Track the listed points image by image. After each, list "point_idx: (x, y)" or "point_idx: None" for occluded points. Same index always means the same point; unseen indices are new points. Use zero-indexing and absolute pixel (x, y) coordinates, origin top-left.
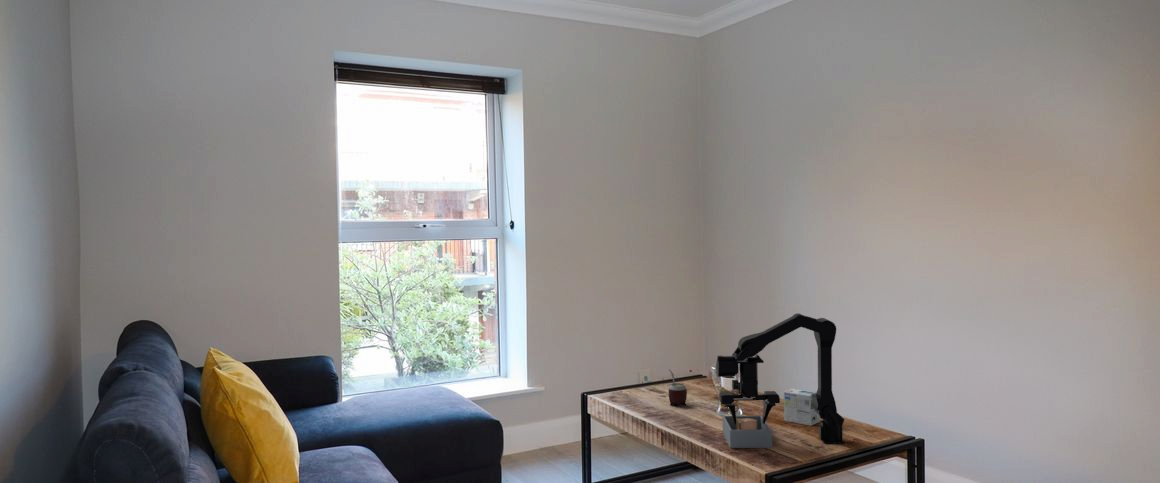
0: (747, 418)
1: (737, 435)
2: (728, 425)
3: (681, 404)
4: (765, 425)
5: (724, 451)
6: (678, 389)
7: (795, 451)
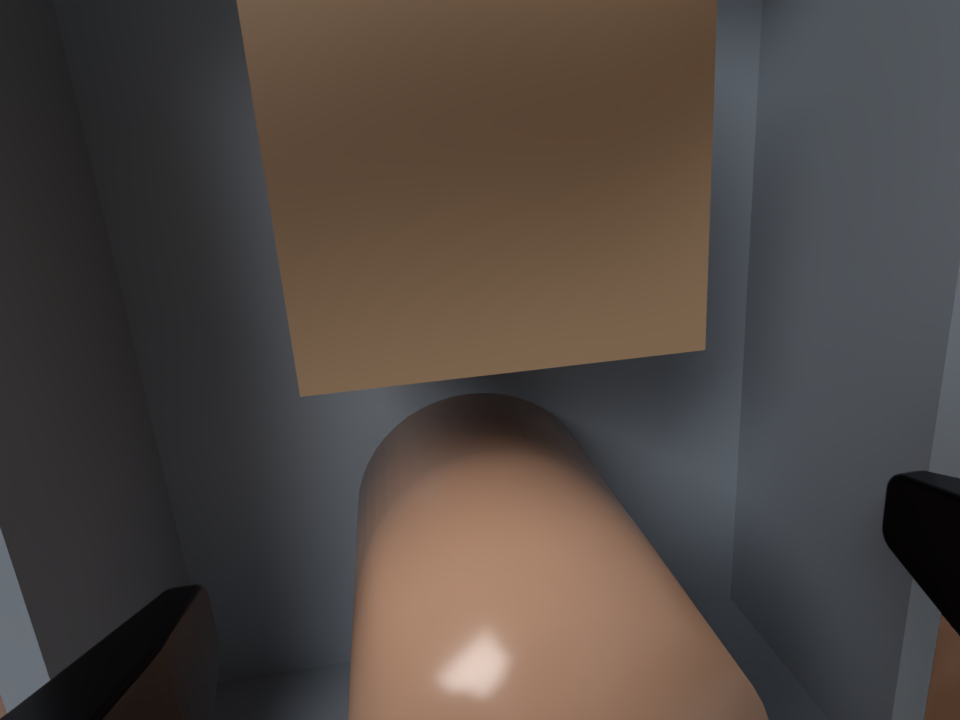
0: (559, 632)
1: None
2: (20, 664)
3: None
4: (904, 389)
5: None
6: None
7: (943, 679)
